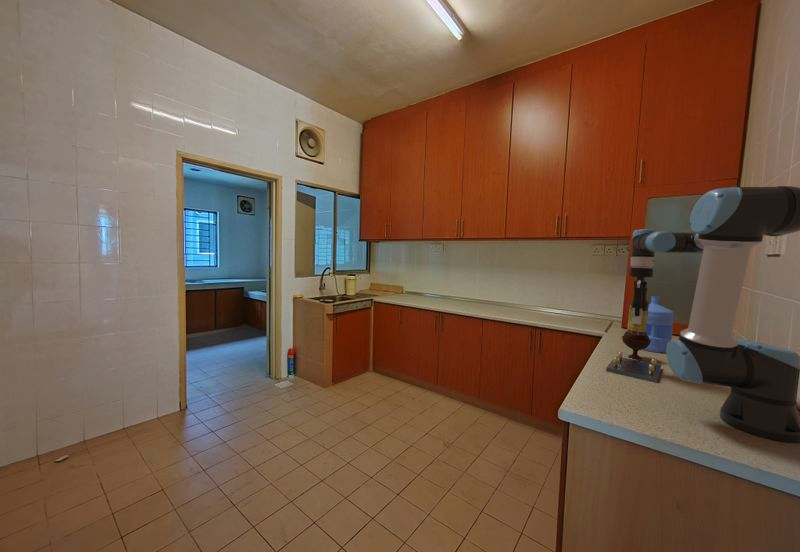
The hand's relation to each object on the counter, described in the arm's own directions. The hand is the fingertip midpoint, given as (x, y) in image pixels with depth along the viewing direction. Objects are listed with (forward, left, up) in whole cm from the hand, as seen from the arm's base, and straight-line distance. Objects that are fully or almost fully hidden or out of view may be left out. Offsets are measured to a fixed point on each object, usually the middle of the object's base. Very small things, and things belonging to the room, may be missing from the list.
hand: (637, 322), depth 128 cm
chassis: (0, 0, -20) cm, 20 cm away
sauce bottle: (0, 0, -5) cm, 5 cm away
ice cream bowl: (+21, +2, -20) cm, 29 cm away
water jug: (+49, -2, -20) cm, 53 cm away
